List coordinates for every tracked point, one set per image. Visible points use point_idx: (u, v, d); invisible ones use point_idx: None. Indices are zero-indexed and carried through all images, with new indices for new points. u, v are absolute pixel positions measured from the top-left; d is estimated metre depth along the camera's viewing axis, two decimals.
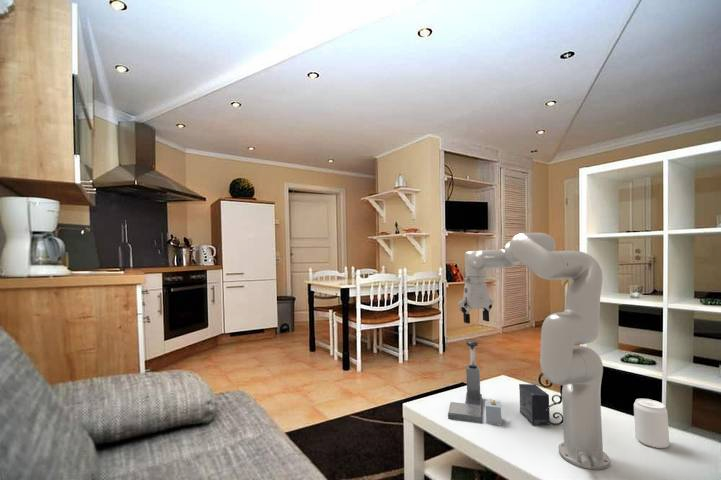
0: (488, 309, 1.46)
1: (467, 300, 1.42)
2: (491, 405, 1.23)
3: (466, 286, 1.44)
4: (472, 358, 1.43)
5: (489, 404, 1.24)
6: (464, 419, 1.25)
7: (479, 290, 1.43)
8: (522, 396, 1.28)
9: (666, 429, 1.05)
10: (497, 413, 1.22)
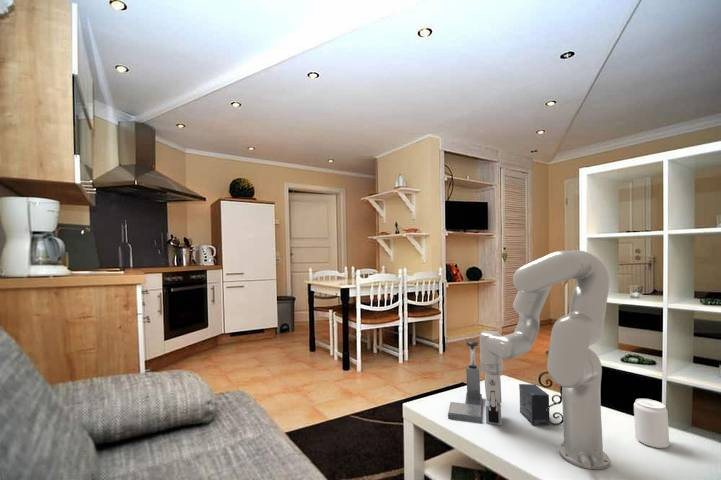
0: None
1: (496, 398, 1.20)
2: None
3: (492, 377, 1.21)
4: (472, 358, 1.43)
5: None
6: (464, 419, 1.25)
7: None
8: (522, 396, 1.28)
9: (666, 429, 1.05)
10: None
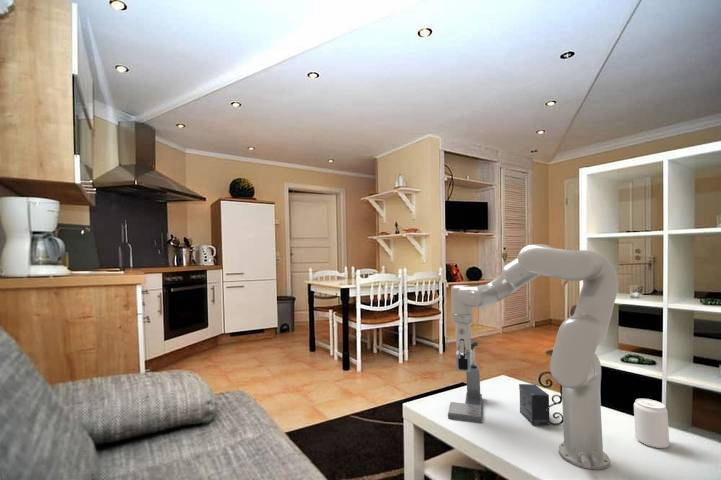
0: None
1: (465, 346, 1.26)
2: None
3: (462, 326, 1.27)
4: (472, 358, 1.43)
5: None
6: (464, 419, 1.25)
7: None
8: (522, 396, 1.28)
9: (666, 429, 1.05)
10: None
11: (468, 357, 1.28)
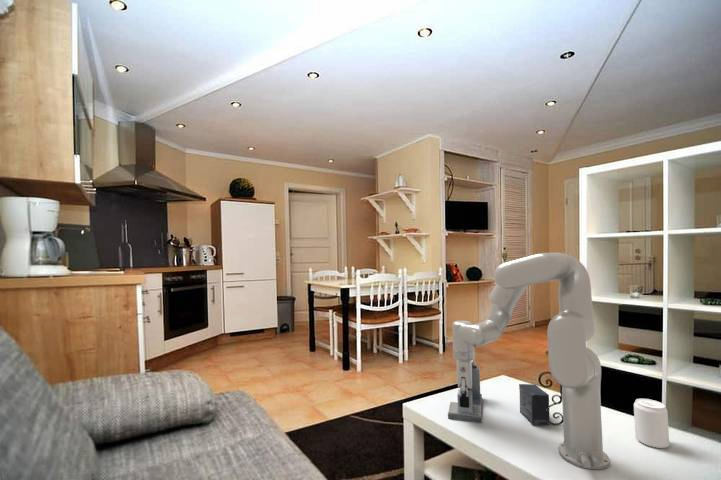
0: None
1: (466, 382, 1.25)
2: None
3: (463, 364, 1.26)
4: None
5: None
6: (464, 419, 1.25)
7: (471, 365, 1.30)
8: (522, 396, 1.28)
9: (666, 429, 1.05)
10: None
11: (470, 397, 1.27)
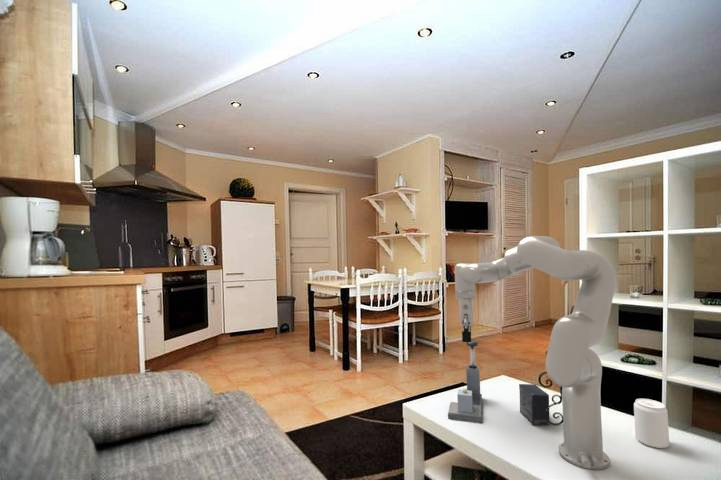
0: None
1: (469, 317, 1.32)
2: (463, 393, 1.29)
3: (465, 302, 1.33)
4: (472, 358, 1.43)
5: (461, 393, 1.30)
6: (464, 419, 1.25)
7: None
8: (522, 396, 1.28)
9: (666, 429, 1.05)
10: (468, 401, 1.27)
11: (470, 397, 1.27)
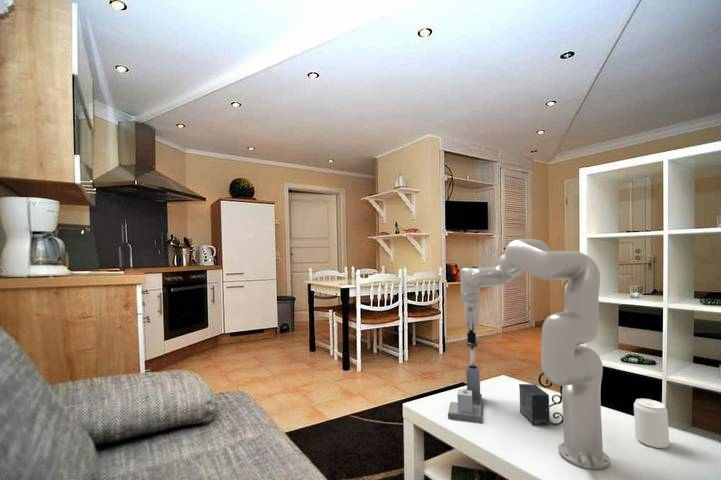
0: None
1: (473, 325, 1.40)
2: (463, 393, 1.29)
3: (470, 304, 1.40)
4: (472, 359, 1.43)
5: (461, 393, 1.30)
6: (464, 419, 1.25)
7: None
8: (522, 396, 1.28)
9: (666, 429, 1.05)
10: (468, 401, 1.27)
11: (470, 397, 1.27)
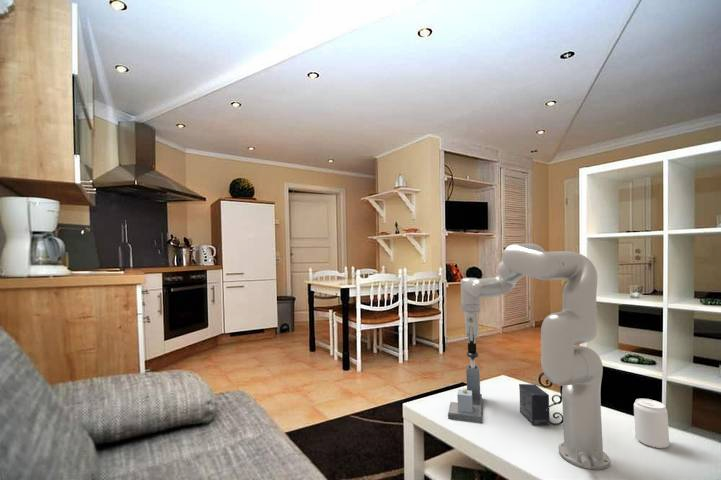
0: None
1: (474, 335, 1.39)
2: (463, 393, 1.29)
3: (471, 315, 1.40)
4: None
5: (461, 393, 1.30)
6: (464, 419, 1.25)
7: None
8: (522, 396, 1.28)
9: (666, 429, 1.05)
10: (468, 401, 1.27)
11: (470, 397, 1.27)
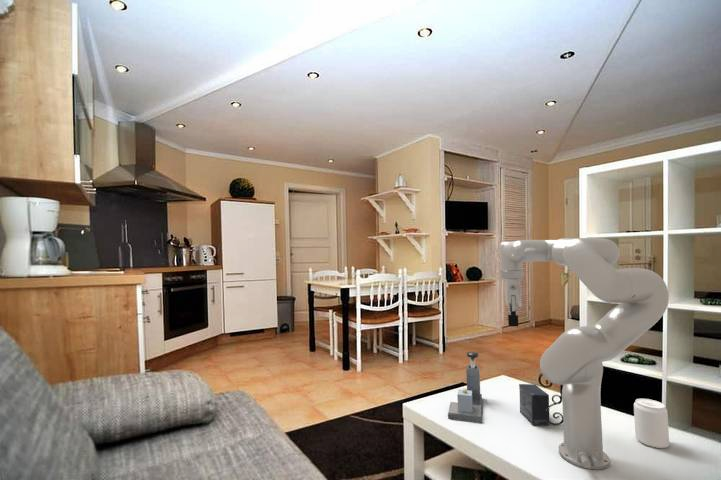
0: None
1: None
2: (463, 393, 1.29)
3: (513, 282, 1.23)
4: None
5: (461, 393, 1.30)
6: (464, 419, 1.25)
7: None
8: (522, 396, 1.28)
9: (666, 429, 1.05)
10: (468, 401, 1.27)
11: (470, 397, 1.27)
